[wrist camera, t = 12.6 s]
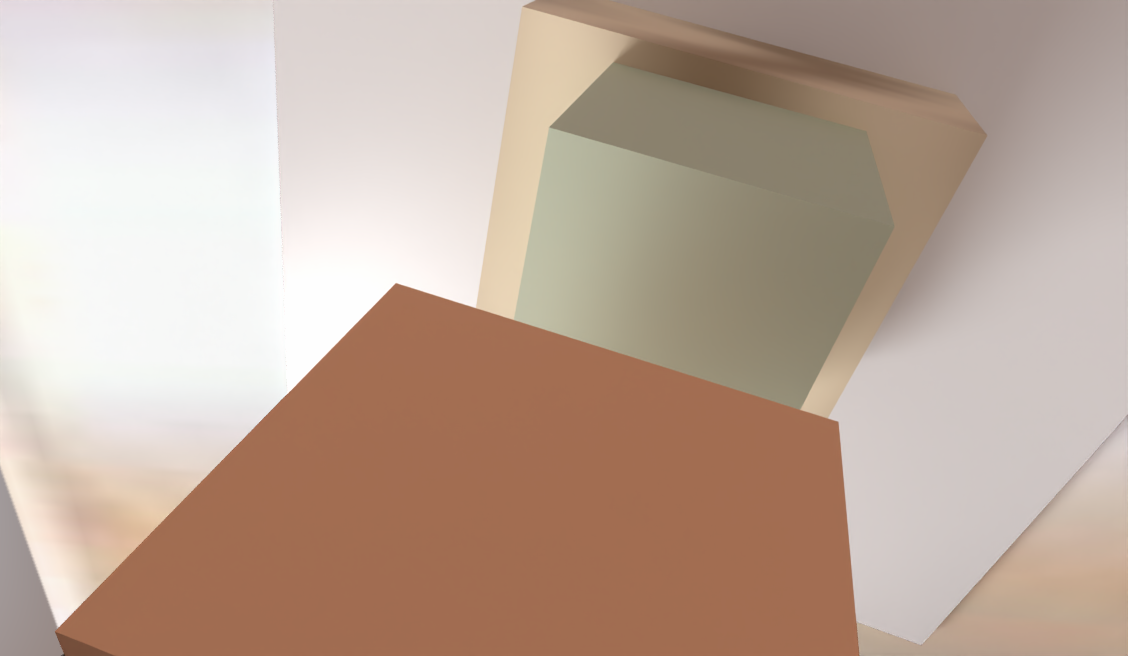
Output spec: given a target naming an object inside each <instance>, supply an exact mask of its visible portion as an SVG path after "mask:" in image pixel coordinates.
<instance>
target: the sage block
mask: <svg viewBox="0 0 1128 656" xmlns="http://www.w3.org/2000/svg"><path fill="white" fill-rule="evenodd" d="M894 227H895V226H894V222H893V219H892V215H891V212H890V209H889V205H888V202H887V199H886V195H885V192H884V189H883V185H882V182H881V179H880V175H879V172H878V168H877V165H876V162H875V158H874V155H873V152H872V148H871V145H870V142H869V138H868V135H867V132H866V131H864V130H860V129H856V128H853V127H849V126H845V125H842V124H838V123H834V122H831V121H827V120H823V119H820V118H816V117H813V116H809V115H805V114H802V113H798V112H794V111H791V110H787V109H783V108H780V107H776V106H772V105H769V104H765V103H761V102H758V101H754V100H750V99H747V98H743V97H739V96H736V95H732V94H728V93H725V92H721V91H717V90H714V89H710V88H706V87H703V86H699V85H695V84H692V83H688V82H684V81H681V80H677V79H673V78H670V77H666V76H662V75H659V74H655V73H651V72H648V71H644V70H640V69H637V68H633V67H629V66H626V65H622V64H618V63H615V62H613V63H612V64H611V65H610V66H609V67H608V68H607V69H606V70H605V71H604V72H603V73H602V74H601V75H600V76H599V77H598V78H597V79H596V80H595V81H594V82H593V83H592V84H591V85H590V86H589V87H588V88H587V89H586V90H585V91H584V92H583V93H582V94H581V96H580V97H579V98H578V99H577V100H576V101H575V102H574V103H573V104H572V105H571V106H570V107H569V108H568V109H567V110H566V111H565V112H564V113H563V114H562V115H561V116H560V117H559V118H558V119H557V120H556V121H555V122H554V123H553V124H552V125H551V126H550V127H549V131H548V136H547V142H546V147H545V153H544V158H543V163H542V169H541V174H540V180H539V185H538V191H537V196H536V202H535V207H534V213H533V218H532V224H531V229H530V234H529V240H528V245H527V251H526V256H525V262H524V267H523V273H522V278H521V284H520V289H519V295H518V300H517V305H516V311H515V316H514V320H516V321H519V322H522V323H525V324H528V325H531V326H535V327H538V328H541V329H544V330H547V331H551V332H554V333H557V334H560V335H563V336H567V337H570V338H573V339H576V340H579V341H582V342H586V343H589V344H592V345H595V346H598V347H602V348H605V349H608V350H611V351H614V352H618V353H621V354H624V355H627V356H630V357H633V358H637V359H640V360H643V361H646V362H649V363H653V364H656V365H659V366H662V367H665V368H669V369H672V370H675V371H678V372H681V373H685V374H688V375H691V376H694V377H697V378H700V379H704V380H707V381H710V382H713V383H716V384H720V385H723V386H726V387H729V388H732V389H736V390H739V391H742V392H745V393H748V394H751V395H755V396H758V397H761V398H764V399H767V400H771V401H774V402H777V403H780V404H783V405H787V406H790V407H793V408H796V409H799V410H800V409H801V407H802V405H803V404H804V402H805V400H806V398H807V396H808V394H809V392H810V390H811V388H812V386H813V384H814V382H815V380H816V378H817V376H818V374H819V373H820V371H821V369H822V367H823V365H824V363H825V361H826V359H827V357H828V355H829V353H830V351H831V349H832V347H833V345H834V343H835V342H836V340H837V338H838V336H839V334H840V332H841V330H842V328H843V326H844V324H845V322H846V320H847V318H848V316H849V314H850V312H851V311H852V309H853V307H854V305H855V303H856V301H857V299H858V297H859V295H860V293H861V291H862V289H863V287H864V285H865V283H866V281H867V280H868V278H869V276H870V274H871V272H872V270H873V268H874V266H875V264H876V262H877V260H878V258H879V256H880V254H881V252H882V250H883V249H884V247H885V245H886V243H887V241H888V239H889V237H890V235H891V233H892V231H893V229H894Z"/></svg>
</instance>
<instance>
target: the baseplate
mask: <svg viewBox="0 0 1128 656" xmlns="http://www.w3.org/2000/svg"><path fill="white" fill-rule="evenodd" d="M533 1H535V0H273V14H274V41H275V68H276V95H277V122H278V149H279V177H280V204H281V231H282V258H283V285H284V312H285V339H286V366H287V393H289V392H290V391H291V390H292V389H293V388H294V387H295V386H296V385H297V384H298V383H299V382H300V380H301V379H302V378H303V377H304V376H305V375H306V374H307V373H308V372H309V371H310V370H311V369H312V368H313V367H314V366H315V365H316V364H317V363H318V362H319V361H320V360H321V359H322V358H323V357H324V356H325V355H326V354H327V353H328V352H329V351H330V350H331V349H332V348H333V347H334V346H335V345H336V344H337V343H338V342H339V341H340V340H341V339H342V338H343V337H344V336H345V335H346V333H347V332H348V331H349V330H350V329H351V328H352V327H353V326H354V325H355V324H356V323H357V322H358V321H359V320H360V319H361V318H362V317H363V316H364V315H365V314H366V313H367V312H368V311H369V310H370V309H371V308H372V307H373V306H374V305H375V304H376V303H377V302H378V301H379V300H380V299H381V298H382V297H383V296H384V295H385V294H386V293H387V292H388V291H389V290H390V289H391V287H392V286H393V285H394V284H395V283H398V284H401V285H404V286H407V287H410V288H413V289H417V290H420V291H423V292H426V293H429V294H433V295H436V296H439V297H442V298H445V299H449V300H452V301H455V302H458V303H461V304H465V305H468V306H471V307H474V308H476V304H477V297H478V291H479V284H480V278H481V271H482V265H483V258H484V252H485V245H486V239H487V232H488V226H489V219H490V212H491V206H492V199H493V193H494V186H495V180H496V173H497V167H498V160H499V154H500V147H501V141H502V134H503V128H504V121H505V115H506V108H507V102H508V95H509V89H510V82H511V75H512V69H513V62H514V56H515V49H516V43H517V36H518V30H519V23H520V17H521V10H522V6H524V5H527V4H529V3H531V2H533ZM610 1H614V2H617V3H621V4H625V5H628V6H632V7H636V8H639V9H643V10H647V11H650V12H654V13H658V14H661V15H665V16H669V17H672V18H676V19H680V20H683V21H687V22H691V23H694V24H698V25H702V26H705V27H709V28H713V29H716V30H720V31H724V32H727V33H731V34H735V35H738V36H742V37H746V38H750V39H753V40H757V41H761V42H764V43H768V44H772V45H775V46H779V47H783V48H786V49H790V50H794V51H797V52H801V53H805V54H808V55H812V56H816V57H819V58H823V59H827V60H830V61H834V62H838V63H841V64H845V65H849V66H852V67H856V68H860V69H863V70H867V71H871V72H874V73H878V74H882V75H885V76H889V77H893V78H896V79H900V80H904V81H907V82H911V83H915V84H918V85H922V86H926V87H929V88H933V89H937V90H940V91H944V92H948V93H951V94H955V95H957V97H958V98H959V99H960V101H961V102H962V103H963V104H964V106H965V107H966V108H967V110H968V111H969V112H970V114H971V115H972V116H973V117H974V119H975V120H976V121H977V123H978V124H979V125H980V127H981V128H982V129H983V130H984V132H985V133H986V134H987V137H986V139H985V141H984V143H983V144H982V146H981V148H980V150H979V151H978V153H977V155H976V157H975V159H974V160H973V162H972V164H971V166H970V167H969V169H968V171H967V173H966V175H965V176H964V178H963V180H962V182H961V183H960V185H959V187H958V189H957V190H956V192H955V194H954V196H953V198H952V199H951V201H950V203H949V205H948V206H947V208H946V210H945V212H944V213H943V215H942V217H941V219H940V221H939V222H938V224H937V226H936V228H935V229H934V231H933V233H932V235H931V236H930V238H929V240H928V242H927V244H926V245H925V247H924V249H923V251H922V252H921V254H920V256H919V258H918V259H917V261H916V263H915V265H914V267H913V268H912V270H911V272H910V274H909V275H908V277H907V279H906V281H905V283H904V284H903V286H902V288H901V290H900V291H899V293H898V295H897V297H896V298H895V300H894V302H893V304H892V306H891V307H890V309H889V311H888V313H887V314H886V316H885V318H884V320H883V321H882V323H881V325H880V327H879V329H878V330H877V332H876V334H875V336H874V337H873V339H872V341H871V343H870V344H869V346H868V348H867V350H866V352H865V353H864V355H863V357H862V359H861V360H860V362H859V364H858V366H857V367H856V369H855V371H854V373H853V375H852V376H851V378H850V380H849V382H848V383H847V385H846V387H845V389H844V391H843V392H842V394H841V396H840V398H839V399H838V401H837V403H836V405H835V406H834V408H833V410H832V412H831V414H830V415H829V417H828V419H831V420H834V421H838V422H839V432H840V443H841V455H842V466H843V477H844V489H845V500H846V511H847V523H848V534H849V545H850V556H851V568H852V579H853V590H854V602H855V613H856V622H858V623H861V624H864V625H866V626H869V627H872V628H875V629H877V630H880V631H883V632H886V633H889V634H891V635H894V636H897V637H900V638H903V639H905V640H908V641H911V642H914V643H916V644H919V645H922V644H923V643H924V642H925V641H926V640H927V638H928V637H929V636H930V635H931V634H932V633H933V632H934V631H935V629H936V628H937V627H938V626H939V625H940V624H941V623H942V622H943V621H944V619H945V618H946V617H947V616H948V615H949V614H950V613H951V612H952V611H953V609H954V608H955V607H956V606H957V605H958V604H959V603H960V602H961V600H962V599H963V598H964V597H965V596H966V595H967V594H968V593H969V592H970V590H971V589H972V588H973V587H974V586H975V585H976V584H977V583H978V582H979V580H980V579H981V578H982V577H983V576H984V575H985V574H986V573H987V571H988V570H989V569H990V568H991V567H992V566H993V565H994V564H995V563H996V561H997V560H998V559H999V558H1000V557H1001V556H1002V555H1003V554H1004V552H1005V551H1006V550H1007V549H1008V548H1009V547H1010V546H1011V545H1012V544H1013V542H1014V541H1015V540H1016V539H1017V538H1018V537H1019V536H1020V535H1021V534H1022V532H1023V531H1024V530H1025V529H1026V528H1027V527H1028V526H1029V525H1030V523H1031V522H1032V521H1033V520H1034V519H1035V518H1036V517H1037V516H1038V515H1039V513H1040V512H1041V511H1042V510H1043V509H1044V508H1045V507H1046V506H1047V505H1048V503H1049V502H1050V501H1051V500H1052V499H1053V498H1054V497H1055V496H1056V494H1057V493H1058V492H1059V491H1060V490H1061V489H1062V488H1063V487H1064V486H1065V484H1066V483H1067V482H1068V481H1069V480H1070V479H1071V478H1072V477H1073V475H1074V474H1075V473H1076V472H1077V471H1078V470H1079V469H1080V468H1081V467H1082V465H1083V464H1084V463H1085V462H1086V461H1087V460H1088V459H1089V458H1090V457H1091V455H1092V454H1093V453H1094V452H1095V451H1096V450H1097V449H1098V448H1099V446H1100V445H1101V444H1102V443H1103V442H1104V441H1105V440H1106V439H1107V438H1108V436H1109V435H1110V434H1111V433H1112V432H1113V431H1114V430H1115V429H1116V427H1117V426H1118V425H1119V424H1120V423H1121V422H1122V421H1123V420H1124V419H1125V417H1126V416H1127V415H1128V0H610Z"/></svg>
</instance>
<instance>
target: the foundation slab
mask: <svg viewBox="0 0 1128 656" xmlns="http://www.w3.org/2000/svg"><path fill="white" fill-rule="evenodd" d="M613 62H615V63H618V64H622V65H626V66H629V67H633V68H637V69H640V70H644V71H648V72H651V73H655V74H659V75H662V76H666V77H670V78H673V79H677V80H681V81H684V82H688V83H692V84H695V85H699V86H703V87H706V88H710V89H714V90H717V91H721V92H725V93H728V94H732V95H736V96H739V97H743V98H747V99H750V100H754V101H758V102H761V103H765V104H769V105H772V106H776V107H780V108H783V109H787V110H791V111H794V112H798V113H802V114H805V115H809V116H813V117H816V118H820V119H823V120H827V121H831V122H834V123H838V124H842V125H845V126H849V127H853V128H856V129H860V130H864V131H866V132H867V135H868V138H869V142H870V145H871V148H872V152H873V155H874V158H875V162H876V165H877V168H878V172H879V175H880V179H881V182H882V185H883V189H884V192H885V195H886V199H887V202H888V205H889V209H890V212H891V215H892V219H893V222H894V226H895V227H894V229H893V231H892V233H891V235H890V237H889V239H888V241H887V243H886V245H885V247H884V249H883V250H882V252H881V254H880V256H879V258H878V260H877V262H876V264H875V266H874V268H873V270H872V272H871V274H870V276H869V278H868V280H867V281H866V283H865V285H864V287H863V289H862V291H861V293H860V295H859V297H858V299H857V301H856V303H855V305H854V307H853V309H852V311H851V312H850V314H849V316H848V318H847V320H846V322H845V324H844V326H843V328H842V330H841V332H840V334H839V336H838V338H837V340H836V342H835V343H834V345H833V347H832V349H831V351H830V353H829V355H828V357H827V359H826V361H825V363H824V365H823V367H822V369H821V371H820V373H819V374H818V376H817V378H816V380H815V382H814V384H813V386H812V388H811V390H810V392H809V394H808V396H807V398H806V400H805V402H804V404H803V405H802V407H801V409H800V410H802V411H806V412H809V413H812V414H815V415H818V416H822V417H825V418H828V417H829V415H830V414H831V412H832V410H833V408H834V406H835V405H836V403H837V401H838V399H839V398H840V396H841V394H842V392H843V391H844V389H845V387H846V385H847V383H848V382H849V380H850V378H851V376H852V375H853V373H854V371H855V369H856V367H857V366H858V364H859V362H860V360H861V359H862V357H863V355H864V353H865V352H866V350H867V348H868V346H869V344H870V343H871V341H872V339H873V337H874V336H875V334H876V332H877V330H878V329H879V327H880V325H881V323H882V321H883V320H884V318H885V316H886V314H887V313H888V311H889V309H890V307H891V306H892V304H893V302H894V300H895V298H896V297H897V295H898V293H899V291H900V290H901V288H902V286H903V284H904V283H905V281H906V279H907V277H908V275H909V274H910V272H911V270H912V268H913V267H914V265H915V263H916V261H917V259H918V258H919V256H920V254H921V252H922V251H923V249H924V247H925V245H926V244H927V242H928V240H929V238H930V236H931V235H932V233H933V231H934V229H935V228H936V226H937V224H938V222H939V221H940V219H941V217H942V215H943V213H944V212H945V210H946V208H947V206H948V205H949V203H950V201H951V199H952V198H953V196H954V194H955V192H956V190H957V189H958V187H959V185H960V183H961V182H962V180H963V178H964V176H965V175H966V173H967V171H968V169H969V167H970V166H971V164H972V162H973V160H974V159H975V157H976V155H977V153H978V151H979V150H980V148H981V146H982V144H983V143H984V141H985V139H986V137H987V134H986V133H985V132H984V130H983V129H982V128H981V127H980V125H979V124H978V123H977V121H976V120H975V119H974V117H973V116H972V115H971V114H970V112H969V111H968V110H967V108H966V107H965V106H964V104H963V103H962V102H961V101H960V99H959V98H958V97H957V95H955V94H951V93H948V92H944V91H940V90H937V89H933V88H929V87H926V86H922V85H918V84H915V83H911V82H907V81H904V80H900V79H896V78H893V77H889V76H885V75H882V74H878V73H874V72H871V71H867V70H863V69H860V68H856V67H852V66H849V65H845V64H841V63H838V62H834V61H830V60H827V59H823V58H819V57H816V56H812V55H808V54H805V53H801V52H797V51H794V50H790V49H786V48H783V47H779V46H775V45H772V44H768V43H764V42H761V41H757V40H753V39H750V38H746V37H742V36H738V35H735V34H731V33H727V32H724V31H720V30H716V29H713V28H709V27H705V26H702V25H698V24H694V23H691V22H687V21H683V20H680V19H676V18H672V17H669V16H665V15H661V14H658V13H654V12H650V11H647V10H643V9H639V8H636V7H632V6H628V5H625V4H621V3H617V2H614V1H610V0H535V1H533V2H531V3H529V4H527V5H524V6H522V10H521V17H520V23H519V30H518V36H517V43H516V49H515V56H514V62H513V69H512V75H511V82H510V89H509V95H508V102H507V108H506V115H505V121H504V128H503V134H502V141H501V147H500V154H499V160H498V167H497V173H496V180H495V186H494V193H493V199H492V206H491V212H490V219H489V226H488V232H487V239H486V245H485V252H484V258H483V265H482V271H481V278H480V284H479V291H478V297H477V304H476V308H477V309H480V310H484V311H487V312H490V313H493V314H496V315H500V316H503V317H506V318H509V319H512V320H514V316H515V311H516V305H517V300H518V295H519V289H520V284H521V278H522V273H523V267H524V262H525V256H526V251H527V245H528V240H529V234H530V229H531V224H532V218H533V213H534V207H535V202H536V196H537V191H538V185H539V180H540V174H541V169H542V163H543V158H544V153H545V147H546V142H547V136H548V131H549V127H550V126H551V125H552V124H553V123H554V122H555V121H556V120H557V119H558V118H559V117H560V116H561V115H562V114H563V113H564V112H565V111H566V110H567V109H568V108H569V107H570V106H571V105H572V104H573V103H574V102H575V101H576V100H577V99H578V98H579V97H580V96H581V94H582V93H583V92H584V91H585V90H586V89H587V88H588V87H589V86H590V85H591V84H592V83H593V82H594V81H595V80H596V79H597V78H598V77H599V76H600V75H601V74H602V73H603V72H604V71H605V70H606V69H607V68H608V67H609V66H610V65H611V64H612V63H613Z"/></svg>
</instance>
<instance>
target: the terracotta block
mask: <svg viewBox="0 0 1128 656" xmlns="http://www.w3.org/2000/svg"><path fill="white" fill-rule="evenodd" d="M55 633H56V635H57V638H58V640H59V642H60V645H61V647H62V650H63V652H64V655H65V656H859V647H858V636H857V624H856V613H855V602H854V590H853V579H852V568H851V556H850V545H849V534H848V523H847V511H846V500H845V489H844V477H843V466H842V455H841V443H840V432H839V422H838V421H834V420H831V419H828V418H825V417H822V416H818V415H815V414H812V413H809V412H806V411H802V410H799V409H796V408H793V407H790V406H787V405H783V404H780V403H777V402H774V401H771V400H767V399H764V398H761V397H758V396H755V395H751V394H748V393H745V392H742V391H739V390H736V389H732V388H729V387H726V386H723V385H720V384H716V383H713V382H710V381H707V380H704V379H700V378H697V377H694V376H691V375H688V374H685V373H681V372H678V371H675V370H672V369H669V368H665V367H662V366H659V365H656V364H653V363H649V362H646V361H643V360H640V359H637V358H633V357H630V356H627V355H624V354H621V353H618V352H614V351H611V350H608V349H605V348H602V347H598V346H595V345H592V344H589V343H586V342H582V341H579V340H576V339H573V338H570V337H567V336H563V335H560V334H557V333H554V332H551V331H547V330H544V329H541V328H538V327H535V326H531V325H528V324H525V323H522V322H519V321H516V320H512V319H509V318H506V317H503V316H500V315H496V314H493V313H490V312H487V311H484V310H480V309H477V308H474V307H471V306H468V305H465V304H461V303H458V302H455V301H452V300H449V299H445V298H442V297H439V296H436V295H433V294H429V293H426V292H423V291H420V290H417V289H413V288H410V287H407V286H404V285H401V284H398V283H395V284H394V285H393V286H392V287H391V289H390V290H389V291H388V292H387V293H386V294H385V295H384V296H383V297H382V298H381V299H380V300H379V301H378V302H377V303H376V304H375V305H374V306H373V307H372V308H371V309H370V310H369V311H368V312H367V313H366V314H365V315H364V316H363V317H362V318H361V319H360V320H359V321H358V322H357V323H356V324H355V325H354V326H353V327H352V328H351V329H350V330H349V331H348V332H347V333H346V335H345V336H344V337H343V338H342V339H341V340H340V341H339V342H338V343H337V344H336V345H335V346H334V347H333V348H332V349H331V350H330V351H329V352H328V353H327V354H326V355H325V356H324V357H323V358H322V359H321V360H320V361H319V362H318V363H317V364H316V365H315V366H314V367H313V368H312V369H311V370H310V371H309V372H308V373H307V374H306V375H305V376H304V377H303V378H302V379H301V380H300V382H299V383H298V384H297V385H296V386H295V387H294V388H293V389H292V390H291V391H290V392H289V393H288V394H287V395H286V396H285V397H284V398H283V399H282V400H281V401H280V402H279V403H278V404H277V405H276V406H275V407H274V408H273V409H272V410H271V411H270V412H269V413H268V414H267V415H266V416H265V417H264V418H263V419H262V420H261V421H260V422H259V423H258V424H257V425H256V426H255V428H254V429H253V430H252V431H251V432H250V433H249V434H248V435H247V436H246V437H245V438H244V439H243V440H242V441H241V442H240V443H239V444H238V445H237V446H236V447H235V448H234V449H233V450H232V451H231V452H230V453H229V454H228V455H227V456H226V457H225V458H224V459H223V460H222V461H221V462H220V463H219V464H218V465H217V466H216V467H215V468H214V469H213V470H212V471H211V472H210V474H209V475H208V476H207V477H206V478H205V479H204V480H203V481H202V482H201V483H200V484H199V485H198V486H197V487H196V488H195V489H194V490H193V491H192V492H191V493H190V494H189V495H188V496H187V497H186V498H185V499H184V500H183V501H182V502H181V503H180V504H179V505H178V506H177V507H176V508H175V509H174V510H173V511H172V512H171V513H170V514H169V515H168V516H167V517H166V518H165V519H164V521H163V522H162V523H161V524H160V525H159V526H158V527H157V528H156V529H155V530H154V531H153V532H152V533H151V534H150V535H149V536H148V537H147V538H146V539H145V540H144V541H143V542H142V543H141V544H140V545H139V546H138V547H137V548H136V549H135V550H134V551H133V552H132V553H131V554H130V555H129V556H128V557H127V558H126V559H125V560H124V561H123V562H122V563H121V564H120V565H119V567H118V568H117V569H116V570H115V571H114V572H113V573H112V574H111V575H110V576H109V577H108V578H107V579H106V580H105V581H104V582H103V583H102V584H101V585H100V586H99V587H98V588H97V589H96V590H95V591H94V592H93V593H92V594H91V595H90V596H89V597H88V598H87V599H86V600H85V601H84V602H83V603H82V604H81V605H80V606H79V607H78V608H77V609H76V610H75V611H74V613H73V614H72V615H71V616H70V617H69V618H68V619H67V620H66V621H65V622H64V623H63V624H62V625H61V626H60V627H59V628H58V629H57V630H56V631H55Z"/></svg>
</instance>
